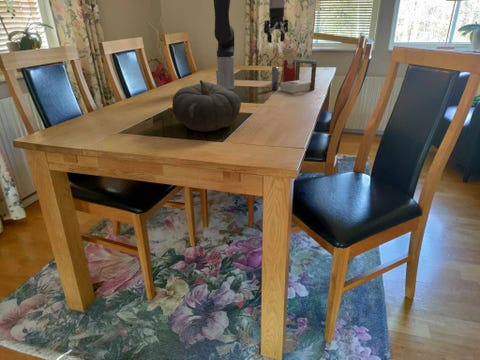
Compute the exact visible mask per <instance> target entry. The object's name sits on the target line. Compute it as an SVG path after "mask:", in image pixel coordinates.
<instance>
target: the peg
mask: <svg viewBox="0 0 480 360" xmlns="http://www.w3.org/2000/svg"><path fill="white" fill-rule="evenodd" d="M278 90H279V66H272V67H271V91H278Z"/></svg>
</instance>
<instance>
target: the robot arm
mask: <svg viewBox="0 0 480 360" xmlns="http://www.w3.org/2000/svg"><path fill="white" fill-rule="evenodd" d="M285 1H286V0H269V3H268V10H269V13H268V18H269V19H268V20H267V19H265V20H264V25H263V27H264V28H263V33H264V34H266V35H267V36H266V37H267V38H266V39H267V41H266V42H267V43H268V44H272V40H273V39H272V38H273V37H272V36H273V35H272V34H273V32H274V31H275V30H278V31H279V32H280V35H279V37H280V40H279V42H280V43H281V42H282V43H283V42H285V38H286V36H285V35H286V33H288V32H289V20H288V19H284V17H285V3H286V2H285ZM213 7H214V8H213V9H214V38H215V40H216V41H217V49H216V63H217V64H216V65H217V68H216V69H217V70H216V72H215V73H216V74H215V75H216V76H215V77H216V85H220V86H222V87H224V88H226V89H228V90H233V89H235V88H236V87H235V60H234V59H235V54H234V52H235V31H234V28H233V27H232V26H231V24H230V7H231V0H213Z"/></svg>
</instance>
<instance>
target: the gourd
mask: <svg viewBox="0 0 480 360" xmlns="http://www.w3.org/2000/svg"><path fill="white" fill-rule="evenodd" d="M171 105H172V106H171V107H172V114H173V116H174V118H175V119H176V120H177V121H178V122H179V123H181V124H182V125H184V127H186V128H188V129H189V130H192V131H196V132H197V131H198V132H203V133H205V132H213V131H218V130H220V129H224V128H229V127H230V126H231V125H233V124H234V123H235V122H236V121H237V119H238V116H239V113H240V112H241V111H240V110H241V106H242V101H241V99H240V97H239V96H238V94H236V93H235V92H234V91H232V90H231V89H229V90H228V89H226V88H224V87H222V86H220V85H217V84H214V83H212V82H210V81H209V82H208V81H203V79H201V80H199V83H196V84H193V85H189V86H185V87H182V88H180V89H179V90H177V91H176V92H175V93H174V95H173V97H172V103H171Z"/></svg>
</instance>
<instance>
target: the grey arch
mask: <svg viewBox="0 0 480 360" xmlns="http://www.w3.org/2000/svg"><path fill="white" fill-rule="evenodd" d="M293 62H295V66H296V71H295V80H300V72H301V71H300V70H301V64H307V65H311V73H310V74H311V75H310V82H311V85H310V90H309V91H311V92H312V91H315V89H316V87H315V86H316V73H317V63H318V61H317V60H314V59H313V60H312V59H304V58H294V59H293Z"/></svg>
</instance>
